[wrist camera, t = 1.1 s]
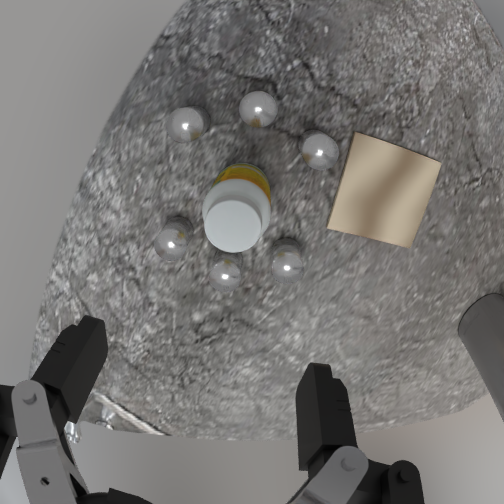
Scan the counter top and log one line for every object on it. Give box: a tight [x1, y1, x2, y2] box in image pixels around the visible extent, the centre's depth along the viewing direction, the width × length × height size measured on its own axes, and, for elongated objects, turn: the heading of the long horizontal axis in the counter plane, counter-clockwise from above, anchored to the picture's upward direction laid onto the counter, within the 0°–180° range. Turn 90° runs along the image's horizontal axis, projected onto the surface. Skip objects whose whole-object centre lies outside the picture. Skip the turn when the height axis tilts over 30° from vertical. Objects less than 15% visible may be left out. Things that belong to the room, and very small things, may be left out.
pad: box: [326, 131, 442, 248], centre depth 29 cm, size 10×10×1 cm
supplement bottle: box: [202, 163, 271, 253], centre depth 26 cm, size 5×5×10 cm
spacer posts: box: [154, 91, 339, 292], centre depth 28 cm, size 14×19×4 cm
